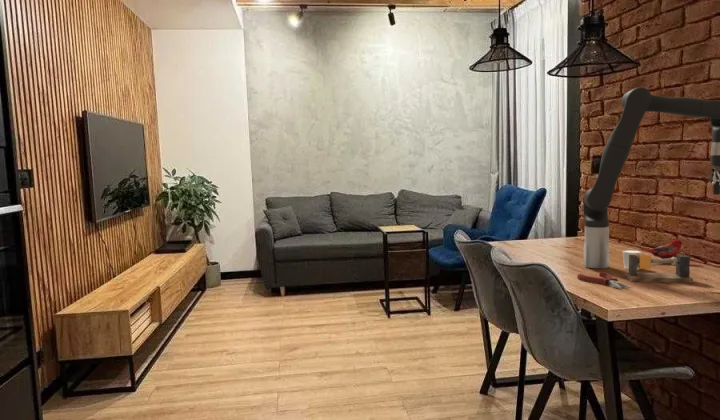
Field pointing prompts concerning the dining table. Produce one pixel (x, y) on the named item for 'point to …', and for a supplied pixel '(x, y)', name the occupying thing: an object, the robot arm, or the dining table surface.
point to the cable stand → (680, 275)
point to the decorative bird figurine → (666, 249)
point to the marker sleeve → (644, 260)
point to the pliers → (603, 280)
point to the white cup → (626, 257)
